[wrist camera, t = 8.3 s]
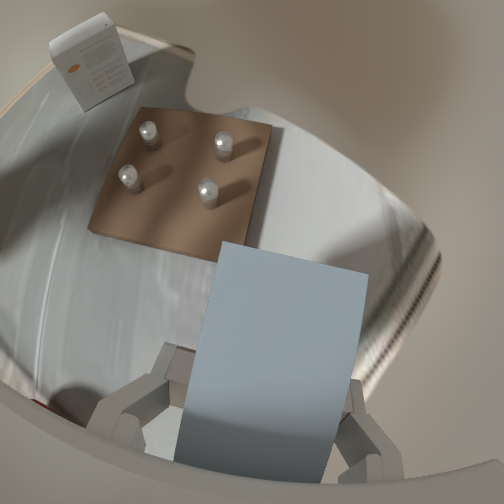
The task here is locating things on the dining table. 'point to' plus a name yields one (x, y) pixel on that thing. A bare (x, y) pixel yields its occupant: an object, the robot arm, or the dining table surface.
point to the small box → (92, 61)
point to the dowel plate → (183, 182)
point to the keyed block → (271, 366)
